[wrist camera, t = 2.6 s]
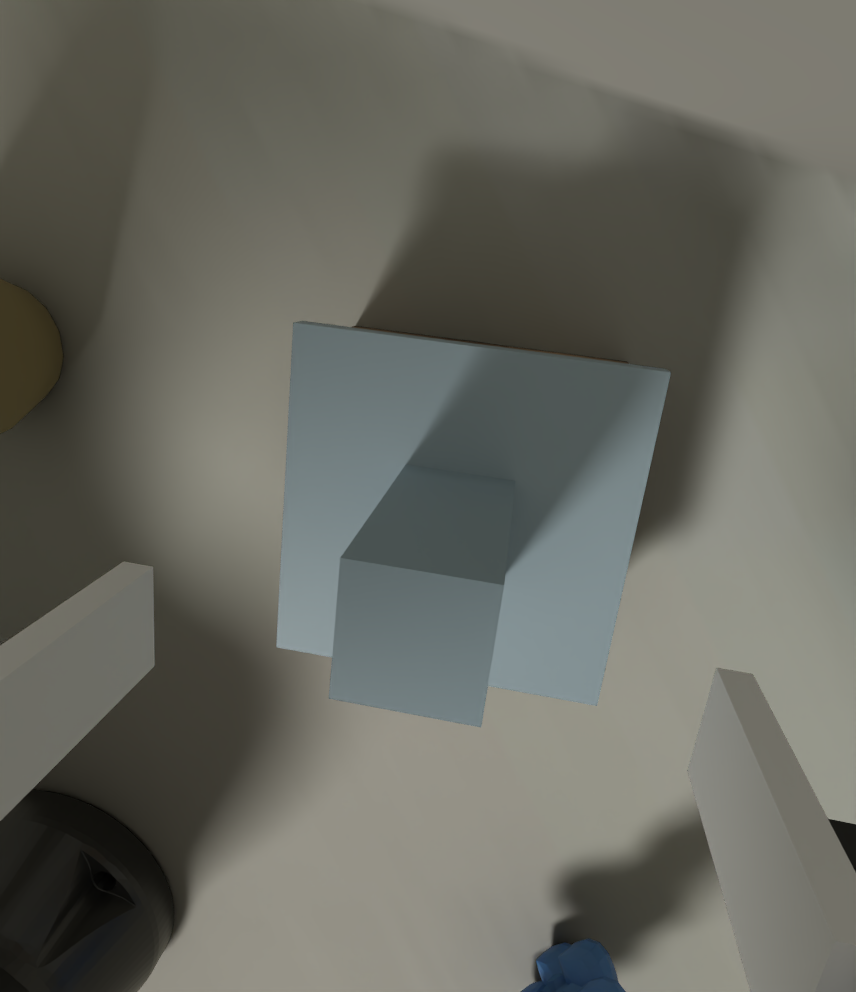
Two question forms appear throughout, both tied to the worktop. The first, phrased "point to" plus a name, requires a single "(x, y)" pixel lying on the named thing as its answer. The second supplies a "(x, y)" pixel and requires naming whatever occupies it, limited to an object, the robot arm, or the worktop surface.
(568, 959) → the grapes
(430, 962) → the worktop surface
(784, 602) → the worktop surface
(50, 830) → the robot arm
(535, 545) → the lid
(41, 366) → the squeeze bottle
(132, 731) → the worktop surface
